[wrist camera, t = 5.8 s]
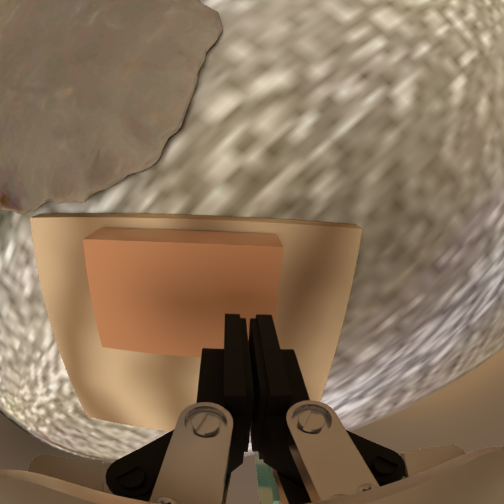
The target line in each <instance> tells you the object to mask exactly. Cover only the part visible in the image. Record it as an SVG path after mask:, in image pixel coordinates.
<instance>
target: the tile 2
mask: <svg viewBox="0 0 504 504" xmlns="http://www.w3.org/2000/svg"><path fill="white" fill-rule="evenodd" d="M255 461H256V470H257V480H258V490H259V499H260V504H284V503H283V501H282V498H281V495H280V493H279V490H278V487H277V484H276V481H275V479H274V476H273V472H272V468H271V467H270V466H268V465H267V464H265V463H264V462H263V459H261V460H259V454H258V451H256V452H255Z"/></svg>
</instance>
